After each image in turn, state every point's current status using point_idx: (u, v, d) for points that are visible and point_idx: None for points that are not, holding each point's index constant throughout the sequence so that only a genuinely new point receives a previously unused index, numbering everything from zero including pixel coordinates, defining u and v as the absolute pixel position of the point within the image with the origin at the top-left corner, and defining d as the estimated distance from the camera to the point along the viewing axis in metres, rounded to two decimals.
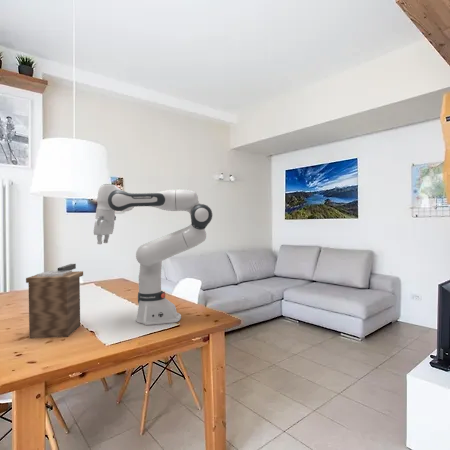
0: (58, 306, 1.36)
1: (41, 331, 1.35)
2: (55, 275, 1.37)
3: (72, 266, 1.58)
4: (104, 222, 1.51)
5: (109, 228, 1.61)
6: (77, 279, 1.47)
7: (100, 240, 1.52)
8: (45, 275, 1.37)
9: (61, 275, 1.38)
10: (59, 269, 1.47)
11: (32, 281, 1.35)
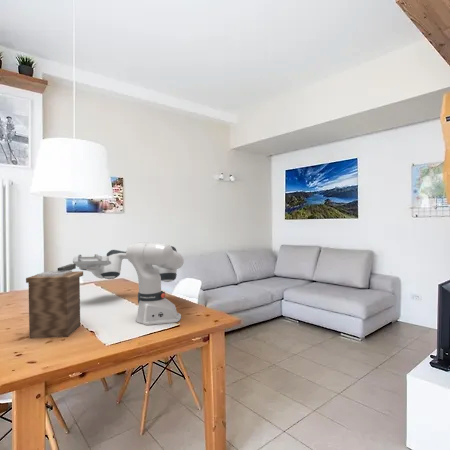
0: (58, 306, 1.36)
1: (41, 331, 1.35)
2: (55, 275, 1.37)
3: (72, 266, 1.58)
4: (103, 265, 1.91)
5: (85, 263, 1.87)
6: (77, 279, 1.47)
7: (98, 257, 1.83)
8: (45, 275, 1.37)
9: (61, 275, 1.38)
10: (59, 269, 1.47)
11: (32, 281, 1.35)
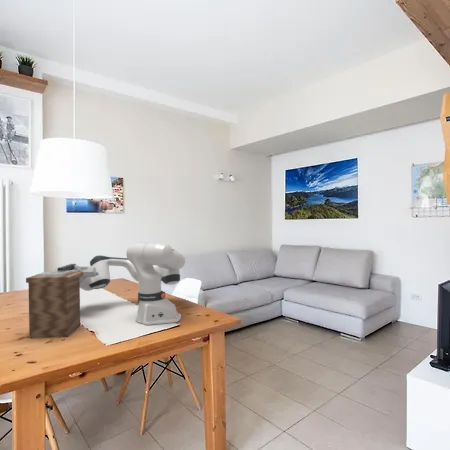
0: (58, 306, 1.36)
1: (41, 331, 1.35)
2: (55, 275, 1.37)
3: (72, 266, 1.58)
4: (89, 276, 1.68)
5: None
6: (77, 279, 1.47)
7: (77, 268, 1.61)
8: (45, 275, 1.37)
9: (61, 275, 1.38)
10: (59, 269, 1.47)
11: (32, 281, 1.35)
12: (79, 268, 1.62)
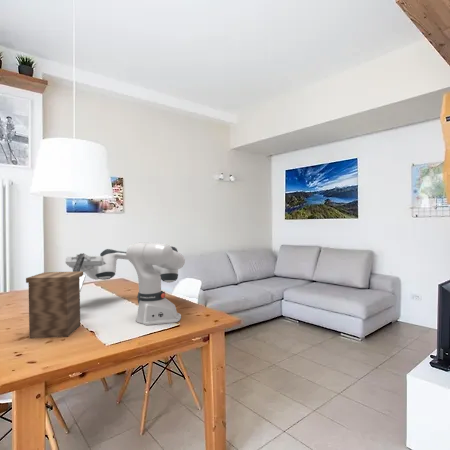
0: (58, 306, 1.36)
1: (41, 331, 1.35)
2: None
3: (82, 259, 1.74)
4: (97, 265, 1.83)
5: None
6: (77, 279, 1.47)
7: (86, 257, 1.76)
8: None
9: None
10: None
11: (32, 281, 1.35)
12: (88, 257, 1.77)
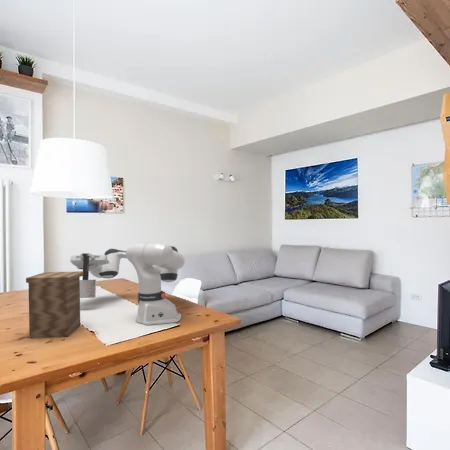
0: (58, 306, 1.36)
1: (41, 331, 1.35)
2: (89, 297, 1.78)
3: (88, 260, 1.80)
4: (101, 264, 1.88)
5: (82, 262, 1.84)
6: (77, 279, 1.47)
7: (91, 256, 1.81)
8: (81, 297, 1.78)
9: None
10: (84, 279, 1.78)
11: (32, 281, 1.35)
12: (92, 256, 1.82)
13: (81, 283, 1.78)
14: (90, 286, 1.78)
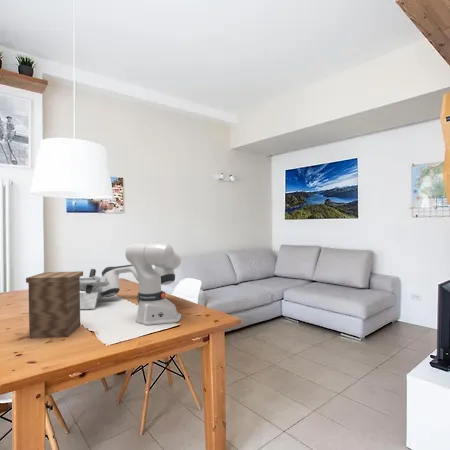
0: (58, 306, 1.36)
1: (41, 331, 1.35)
2: None
3: (93, 275, 1.90)
4: (101, 286, 1.88)
5: (83, 284, 1.85)
6: (77, 279, 1.47)
7: (96, 279, 1.81)
8: (81, 309, 1.78)
9: None
10: (87, 292, 1.83)
11: (32, 281, 1.35)
12: (98, 279, 1.82)
13: (83, 295, 1.83)
14: (92, 298, 1.82)
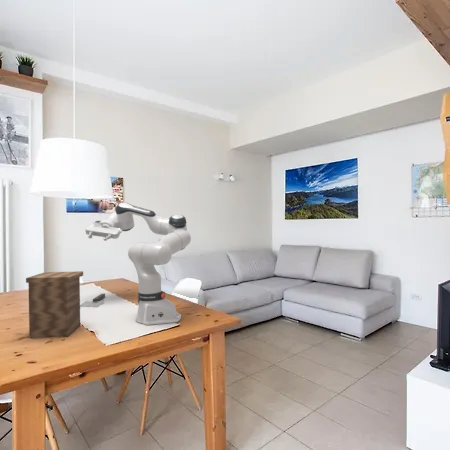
0: (58, 306, 1.36)
1: (41, 331, 1.35)
2: (92, 306, 1.84)
3: (102, 296, 2.04)
4: None
5: None
6: (77, 279, 1.47)
7: (107, 238, 1.87)
8: (85, 306, 1.83)
9: (96, 306, 1.84)
10: (94, 300, 1.93)
11: (32, 281, 1.35)
12: (109, 237, 1.88)
13: (90, 302, 1.91)
14: (97, 302, 1.90)
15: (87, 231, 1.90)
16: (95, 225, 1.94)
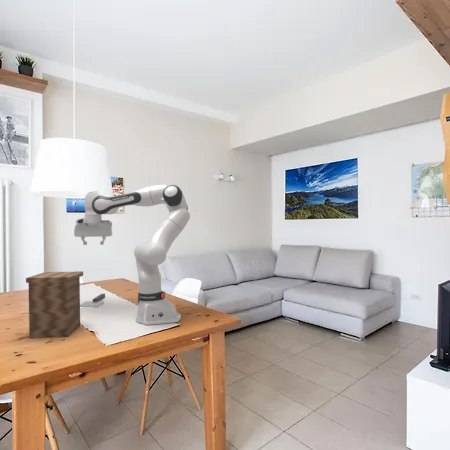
0: (58, 306, 1.36)
1: (41, 331, 1.35)
2: (92, 306, 1.84)
3: (102, 296, 2.04)
4: None
5: None
6: (77, 279, 1.47)
7: (103, 241, 1.79)
8: (85, 306, 1.83)
9: (96, 306, 1.84)
10: (94, 300, 1.93)
11: (32, 281, 1.35)
12: (104, 239, 1.79)
13: (90, 302, 1.91)
14: (97, 302, 1.90)
15: (77, 236, 1.77)
16: (80, 226, 1.76)
